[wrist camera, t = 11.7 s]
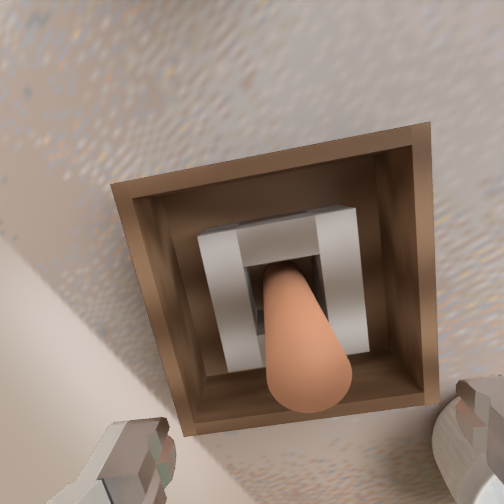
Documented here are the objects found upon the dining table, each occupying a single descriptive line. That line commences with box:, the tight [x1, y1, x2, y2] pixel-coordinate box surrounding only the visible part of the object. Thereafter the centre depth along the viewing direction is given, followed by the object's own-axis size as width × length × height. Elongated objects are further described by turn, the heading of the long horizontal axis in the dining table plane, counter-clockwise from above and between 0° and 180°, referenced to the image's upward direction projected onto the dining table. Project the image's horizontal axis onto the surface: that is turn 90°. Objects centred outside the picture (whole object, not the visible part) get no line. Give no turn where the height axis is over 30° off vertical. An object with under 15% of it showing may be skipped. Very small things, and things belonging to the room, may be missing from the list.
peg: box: [263, 260, 352, 413], centre depth 16 cm, size 3×3×12 cm
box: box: [110, 122, 440, 437], centre depth 20 cm, size 18×18×6 cm
